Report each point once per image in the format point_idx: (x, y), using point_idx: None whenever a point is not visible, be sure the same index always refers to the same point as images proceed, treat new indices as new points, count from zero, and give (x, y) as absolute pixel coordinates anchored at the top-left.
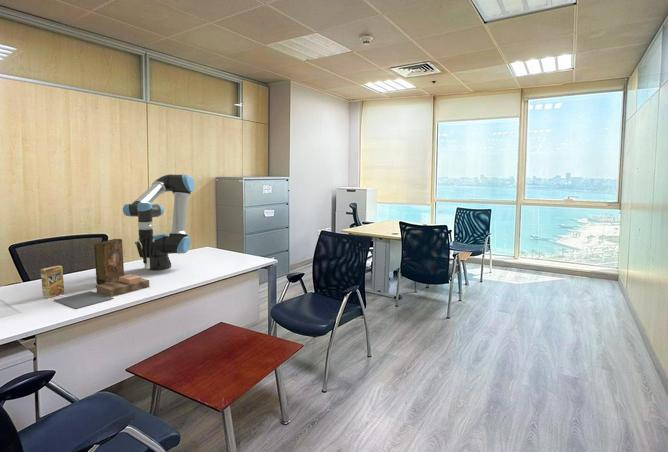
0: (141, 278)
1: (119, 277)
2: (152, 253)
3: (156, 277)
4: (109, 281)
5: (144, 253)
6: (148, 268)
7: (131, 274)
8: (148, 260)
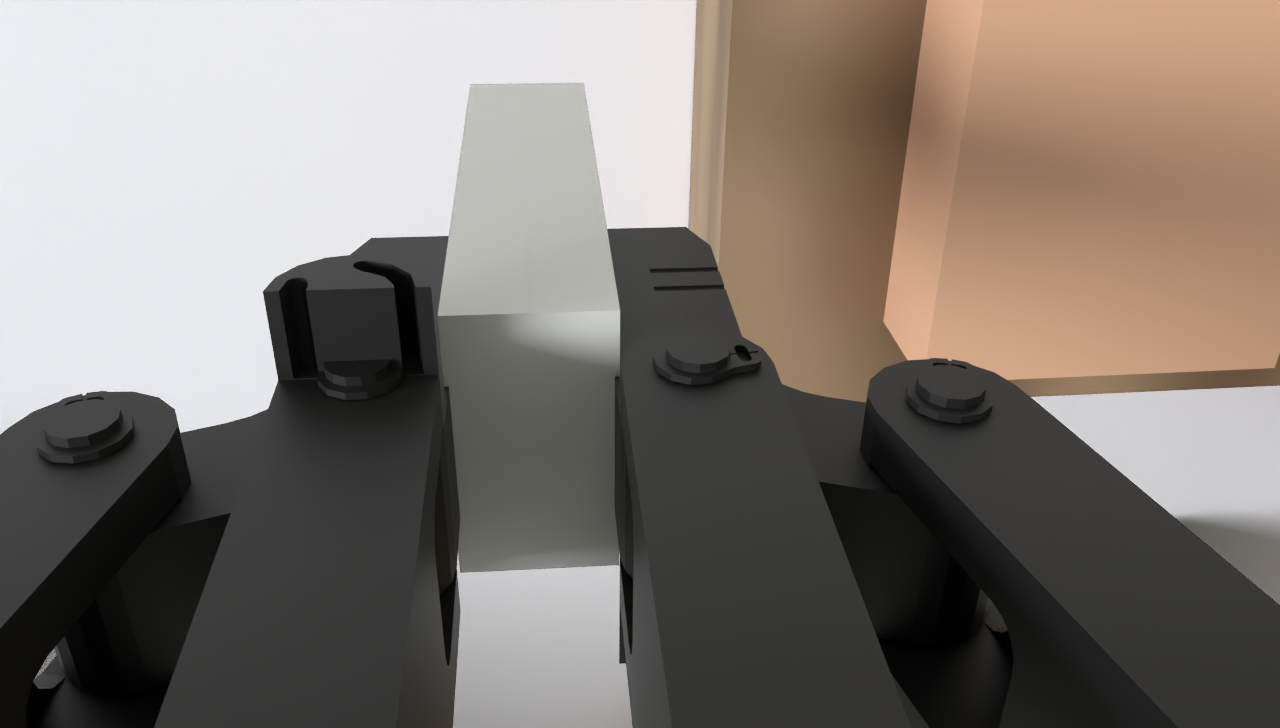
0: (742, 78)
1: (1274, 336)
2: (69, 511)
3: (61, 376)
4: None
5: (836, 594)
6: (539, 86)
7: (931, 343)
8: (523, 235)
